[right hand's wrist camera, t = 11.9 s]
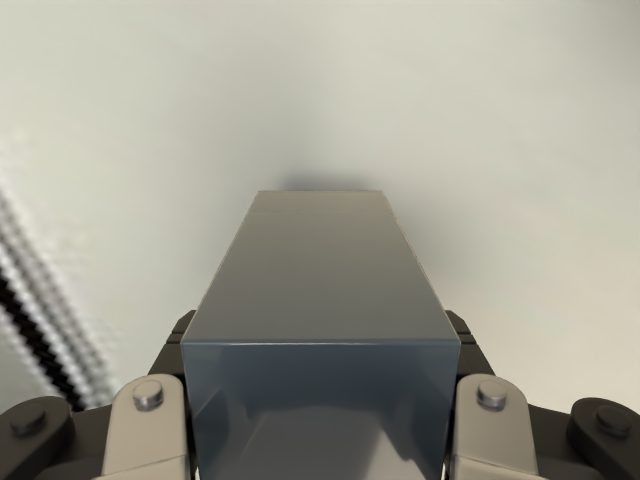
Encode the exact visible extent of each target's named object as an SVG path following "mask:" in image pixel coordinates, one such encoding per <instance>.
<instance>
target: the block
mask: <svg viewBox="0 0 640 480" xmlns="http://www.w3.org/2000/svg"><path fill="white" fill-rule="evenodd" d="M180 344H181V351H182V358H183V365H184V372H185V379H186V386H187V393H188V400H189V407H190V414H191V421H192V428H193V435H194V442H195V449H196V456H197V463H198V470H199V477H200V480H441V477H442V470H443V463H444V456H445V450H446V443H447V436H448V429H449V422H450V415H451V408H452V401H453V394H454V387H455V380H456V373H457V366H458V359H459V352H460V345H461V342H460V339H459V337H458V335H457V333H456V331H455V329H454V327H453V326H452V324H451V322H450V320H449V318H448V316H447V314H446V312H445V310H444V308H443V306H442V305H441V303H440V301H439V299H438V297H437V295H436V293H435V291H434V289H433V287H432V285H431V284H430V282H429V280H428V278H427V276H426V274H425V272H424V270H423V268H422V266H421V264H420V263H419V261H418V259H417V257H416V255H415V253H414V251H413V249H412V247H411V245H410V243H409V241H408V240H407V238H406V236H405V234H404V232H403V230H402V228H401V226H400V224H399V222H398V220H397V219H396V217H395V215H394V213H393V211H392V209H391V207H390V205H389V203H388V201H387V199H386V198H385V196H384V194H383V192H382V191H258V193H257V195H256V197H255V199H254V201H253V203H252V205H251V207H250V208H249V210H248V212H247V214H246V216H245V218H244V220H243V222H242V224H241V226H240V228H239V230H238V232H237V233H236V235H235V237H234V239H233V241H232V243H231V245H230V247H229V249H228V251H227V253H226V255H225V257H224V258H223V260H222V262H221V264H220V266H219V268H218V270H217V272H216V274H215V276H214V278H213V280H212V282H211V283H210V285H209V287H208V289H207V291H206V293H205V295H204V297H203V299H202V301H201V303H200V305H199V307H198V308H197V310H196V312H195V314H194V316H193V318H192V320H191V322H190V324H189V326H188V328H187V330H186V332H185V333H184V335H183V337H182V339H181V342H180Z"/></svg>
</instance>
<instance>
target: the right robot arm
mask: <svg viewBox="0 0 640 480" xmlns="http://www.w3.org/2000/svg"><path fill="white" fill-rule="evenodd" d="M195 312H196V310H191V311H190V312H188V313H187V314H186V315H185V316H183V317H182V318H181V319H179V320H178V322H177V324H176V325H175V327H174V329H173V331H172V334H170V336H169V338H168V339H167V341H166V344H165V345H164V346H163V348H162V350H161V352H160V353H159V355H158V357H157V359H156V360H155V362H154V364H153V366H152V367H151V369H150V371H149V373H148V374H147V376H143V377H140V378H138V379H135V380H133V381H131V382H130V383H128V384H127V385H125V386H124V387H123V388H122V389H121V390H120V391H119V392H118V393H117V394H116V396H115V398H114V400H113V403H112V404H111V405H108V406H104V407H100V408H96V409H91V410H87V411H82V412H78V413H74V414H72V413H71V410H70V406H69V404H68V402H67V401H66V400H64V399H63V398H60V397H55V396H45V397H39V398H34V399H31V400H27V401H25V402H22V403H20V404H18V405H16V406H14V407H12V408H10V409H9V410H7V411H5V412H4V413H3V414H1V415H0V480H196V470H197V467H198V463H197V456H196V449H195V442H194V435H193V428H192V421H191V414H190V407H189V400H188V393H187V386H186V379H185V372H184V365H183V358H182V351H181V344H180V342H181V339H182V337H183V335H184V333H185V332H186V330H187V328H188V326H189V324H190V322H191V320H192V318H193V316H194V314H195ZM445 312H446V314H447V316H448V318H449V320H450V322H451V324H452V326H453V327H454V329H455V331H456V333H457V335H458V337H459V339H460V342H461V345H460V352H459V359H458V366H457V373H456V380H455V387H454V394H453V401H452V408H451V415H450V422H449V429H448V436H447V443H446V450H445V456H444V464H445V473H444V480H640V415H639V414H637V413H636V412H634V411H633V410H631V409H629V408H627V407H625V406H623V405H621V404H619V403H616V402H613V401H610V400H607V399H602V398H583V399H580V400H578V401H576V402H575V403H574V404H573V406H572V409H571V413H570V414H567V413H562V412H558V411H553V410H549V409H545V408H541V407H537V406H534V405H531V404H528V403H527V400H526V398H525V396H524V394H523V393H522V392H521V391H520V390H519V389H518V388H517V387H516V386H515V385H513V384H512V383H510V382H509V381H507V380H505V379H502V378H500V377H497V376H496V375H495V373H494V372H493V370H492V368H491V366H490V365H489V363H488V361H487V359H486V358H485V356H484V354H483V353H482V351H481V349H480V347H479V346H478V345H477V344H476V340H475V339H474V337H473V335H471V332H470V330H469V328H468V327H467V325H466V323H465V321H464V320H463V319H461V318H460V317H459V316H457V315H456V314H455V313H453V312H452V311H451V310H445Z"/></svg>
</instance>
